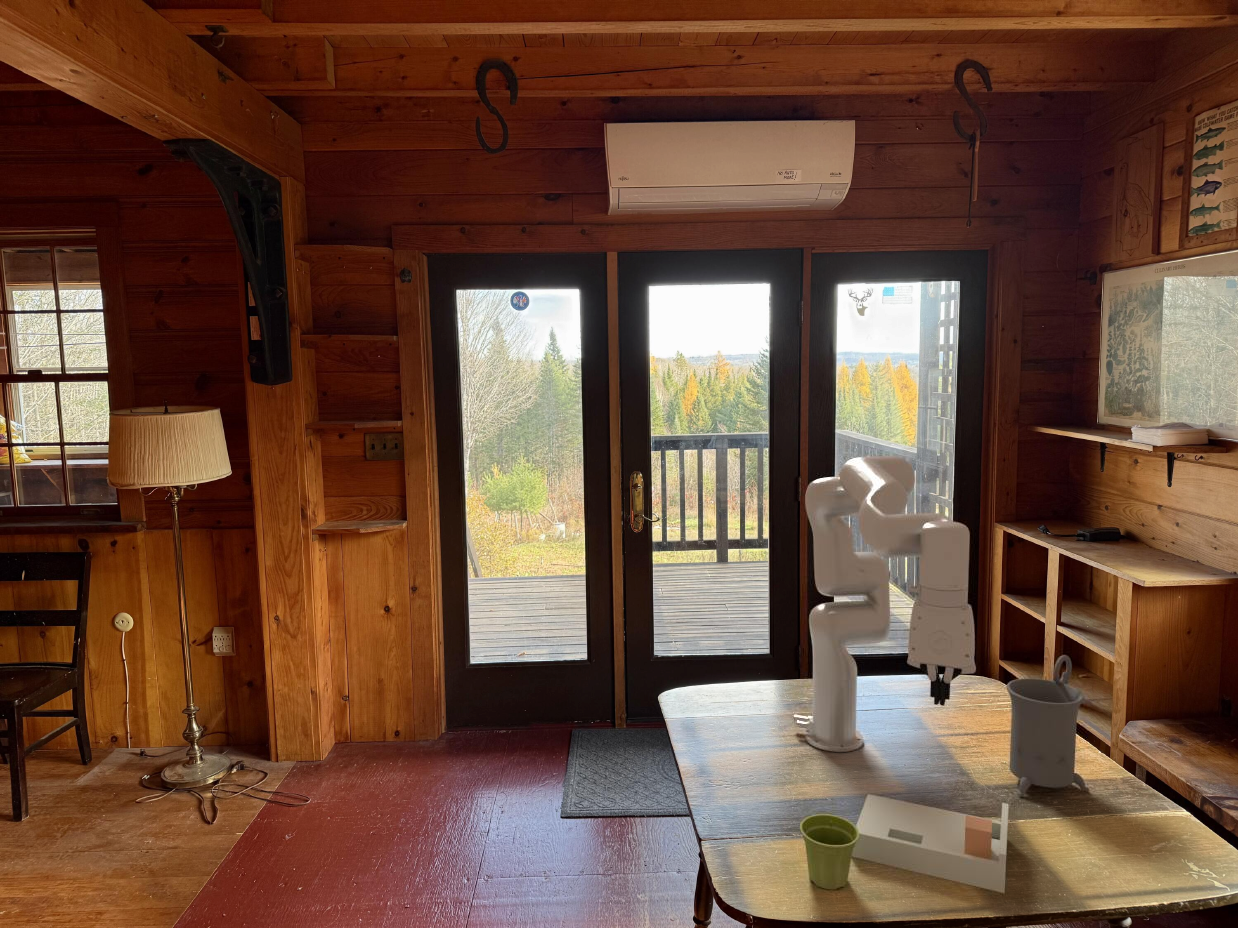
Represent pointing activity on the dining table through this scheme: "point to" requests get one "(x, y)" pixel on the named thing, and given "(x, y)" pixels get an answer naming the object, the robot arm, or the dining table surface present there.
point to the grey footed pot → (1044, 730)
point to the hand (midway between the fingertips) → (939, 701)
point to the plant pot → (829, 849)
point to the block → (978, 837)
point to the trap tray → (929, 842)
